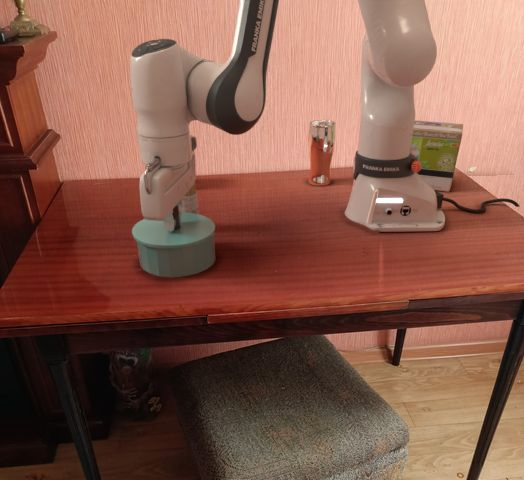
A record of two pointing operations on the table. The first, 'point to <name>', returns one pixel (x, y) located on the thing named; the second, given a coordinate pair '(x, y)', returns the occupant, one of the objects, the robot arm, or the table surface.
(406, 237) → the table surface
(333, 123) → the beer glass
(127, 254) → the table surface
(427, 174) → the tea box
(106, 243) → the table surface
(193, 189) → the sprinkles bottle
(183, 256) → the pan
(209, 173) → the table surface
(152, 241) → the pan lid
